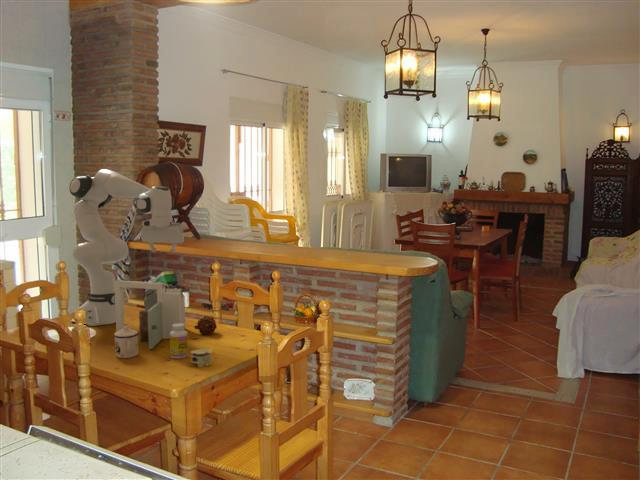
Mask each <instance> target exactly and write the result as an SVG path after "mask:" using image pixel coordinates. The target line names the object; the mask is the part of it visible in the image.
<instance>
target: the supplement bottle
mask: <svg viewBox="0 0 640 480" xmlns="http://www.w3.org/2000/svg"><path fill="white" fill-rule="evenodd" d="M172 328H173V331H171V333H170V339H169V346H170V347H169V349H170V350H169V351H170V353H169V354H170V357H171V358H172V359H175V360H176V359H177V360H179V359H185V358H187V357H188V354H189V353H188V331H186V330H185V329H186V324H185V325H184V324H182V323H177V324H173V325H172Z"/></svg>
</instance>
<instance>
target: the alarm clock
mask: <svg viewBox="0 0 640 480" xmlns="http://www.w3.org/2000/svg"><path fill="white" fill-rule="evenodd" d="M166 289H167V288H166V287H165V292H166ZM144 295H145V297H144V299H143V305H144V310H149V309H150V308H151V307H153V306H154V305H155V304H156V303H157V289H145V290H144Z"/></svg>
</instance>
